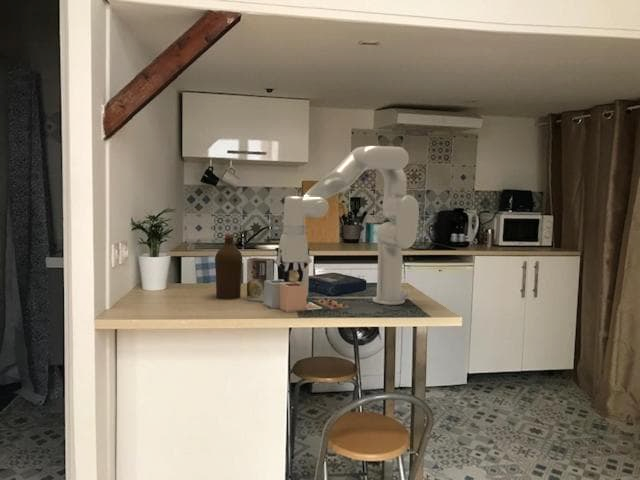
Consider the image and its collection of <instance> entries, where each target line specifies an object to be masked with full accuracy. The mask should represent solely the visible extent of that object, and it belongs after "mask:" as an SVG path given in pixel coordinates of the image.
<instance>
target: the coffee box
mask: <svg viewBox="0 0 640 480" xmlns="http://www.w3.org/2000/svg"><path fill="white" fill-rule="evenodd" d="M275 259H276V258H265V257H252V258H249V259H246V301H253V302H263V303H264V281H266V280H275V263H274V261H275Z"/></svg>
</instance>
